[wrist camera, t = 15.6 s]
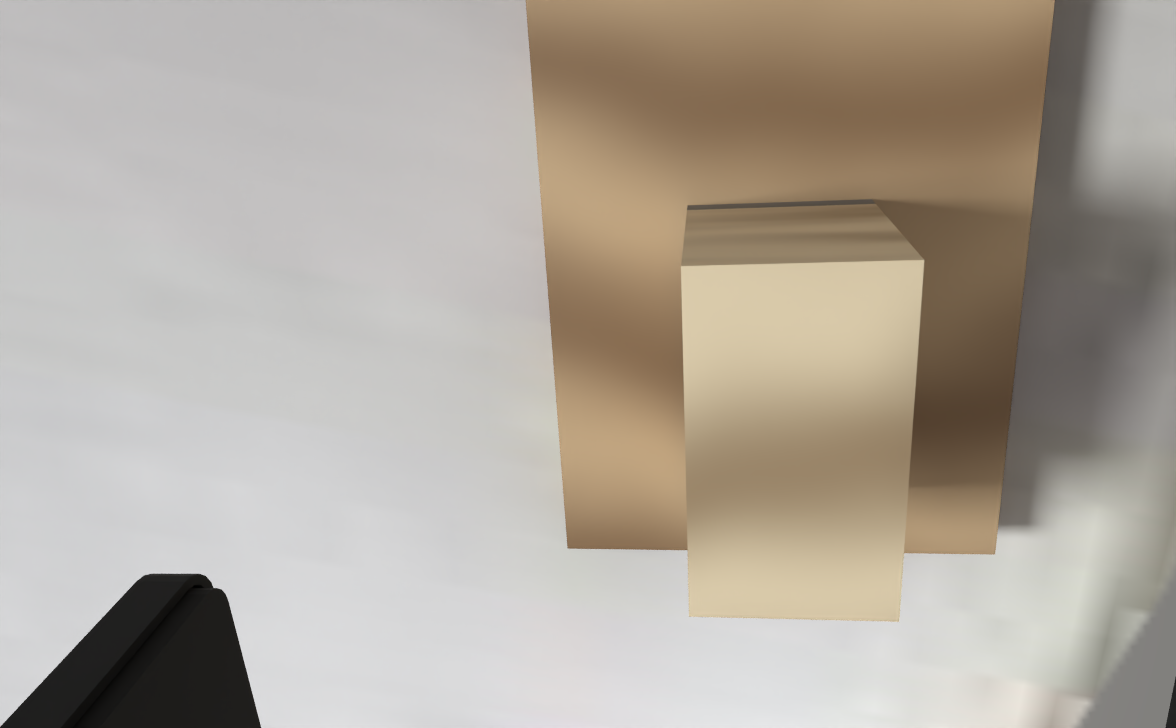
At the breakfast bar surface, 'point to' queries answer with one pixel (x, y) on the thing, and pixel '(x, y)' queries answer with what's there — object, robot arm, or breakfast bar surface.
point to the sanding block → (798, 408)
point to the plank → (781, 174)
